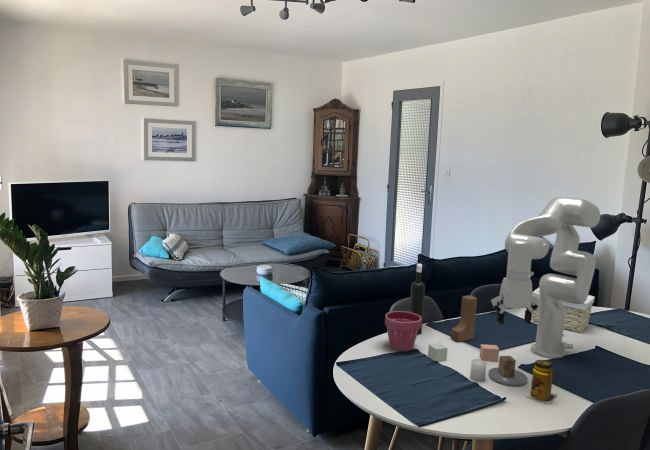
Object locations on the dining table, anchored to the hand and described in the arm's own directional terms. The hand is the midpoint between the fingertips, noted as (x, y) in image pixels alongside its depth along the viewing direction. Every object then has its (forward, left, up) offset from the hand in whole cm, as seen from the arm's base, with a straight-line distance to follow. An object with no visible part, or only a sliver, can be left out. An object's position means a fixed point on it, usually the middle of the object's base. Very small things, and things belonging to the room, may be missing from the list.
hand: (513, 322), depth 182 cm
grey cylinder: (+11, 0, -20) cm, 23 cm away
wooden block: (+3, -36, -20) cm, 41 cm away
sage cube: (+20, -17, -20) cm, 33 cm away
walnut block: (+1, 0, -19) cm, 19 cm away
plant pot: (+31, -28, -20) cm, 46 cm away
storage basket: (-50, -54, -20) cm, 76 cm away
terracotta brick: (0, -16, -20) cm, 26 cm away
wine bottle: (+21, -44, -20) cm, 53 cm away
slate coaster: (0, 0, -20) cm, 20 cm away
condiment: (-5, +14, -20) cm, 25 cm away
